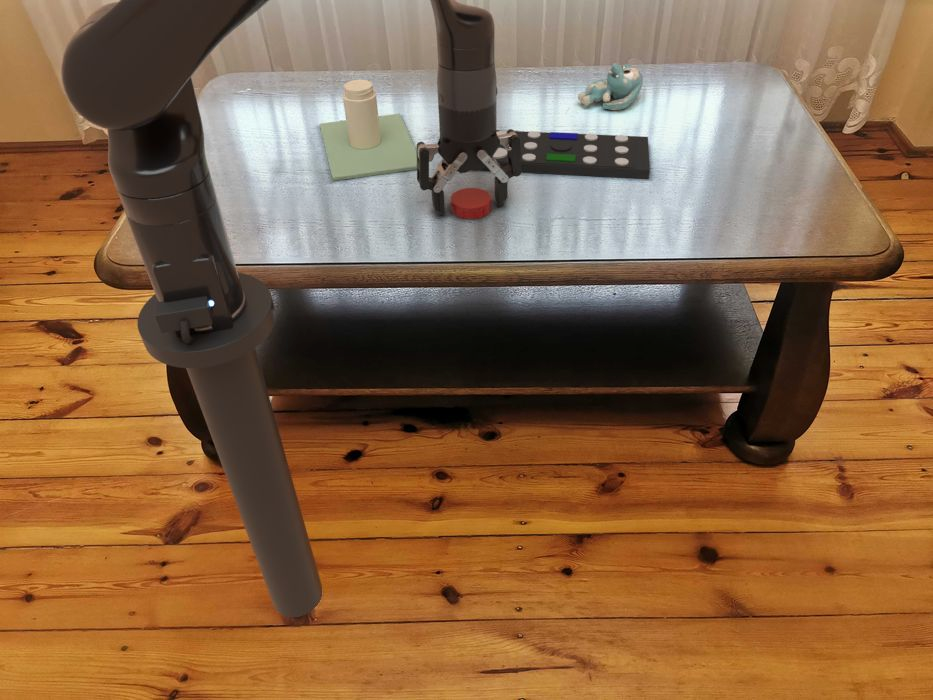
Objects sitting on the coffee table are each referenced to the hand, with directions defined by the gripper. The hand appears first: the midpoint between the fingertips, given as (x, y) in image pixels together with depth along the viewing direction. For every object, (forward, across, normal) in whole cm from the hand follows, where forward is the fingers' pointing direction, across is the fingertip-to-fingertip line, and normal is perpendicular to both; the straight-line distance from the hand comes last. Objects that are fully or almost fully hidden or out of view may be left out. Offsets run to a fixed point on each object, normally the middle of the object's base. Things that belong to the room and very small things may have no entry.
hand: (470, 207), depth 106 cm
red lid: (-1, 0, 0) cm, 1 cm away
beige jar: (0, +11, -24) cm, 27 cm away
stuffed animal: (0, -33, -29) cm, 44 cm away
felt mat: (0, +11, -24) cm, 26 cm away
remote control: (0, -16, -12) cm, 20 cm away
